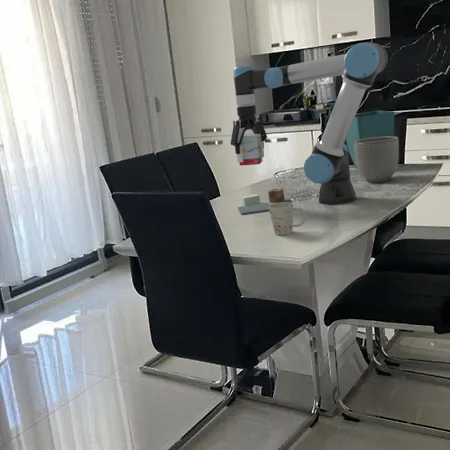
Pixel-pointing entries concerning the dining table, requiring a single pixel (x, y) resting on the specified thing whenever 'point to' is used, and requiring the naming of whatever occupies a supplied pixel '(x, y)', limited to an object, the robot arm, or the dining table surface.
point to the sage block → (250, 200)
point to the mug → (284, 217)
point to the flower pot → (369, 128)
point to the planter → (377, 158)
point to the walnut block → (276, 195)
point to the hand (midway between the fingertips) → (251, 159)
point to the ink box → (251, 149)
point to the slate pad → (254, 208)
